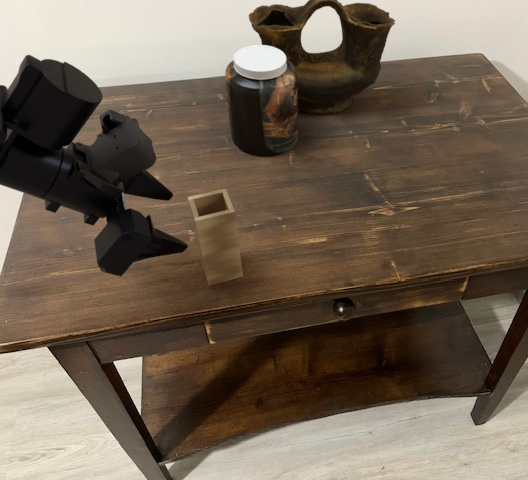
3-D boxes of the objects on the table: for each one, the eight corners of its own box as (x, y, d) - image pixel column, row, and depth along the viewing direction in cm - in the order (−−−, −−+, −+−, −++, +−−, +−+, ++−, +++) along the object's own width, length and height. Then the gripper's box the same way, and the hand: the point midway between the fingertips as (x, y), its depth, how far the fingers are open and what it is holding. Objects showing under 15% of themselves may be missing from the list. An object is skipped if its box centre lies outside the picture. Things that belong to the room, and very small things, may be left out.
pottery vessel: (257, 121, 97) (249, 14, 82) (253, 89, 104) (245, -15, 90) (390, 113, 100) (405, 8, 85) (377, 82, 107) (390, -20, 92)
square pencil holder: (208, 286, 71) (195, 221, 62) (201, 262, 74) (187, 196, 65) (243, 276, 73) (235, 211, 63) (235, 253, 75) (225, 188, 66)
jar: (226, 155, 90) (215, 75, 79) (236, 115, 98) (228, 37, 87) (295, 158, 90) (294, 79, 79) (300, 118, 98) (300, 41, 87)
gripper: (101, 172, 45) (240, 230, 56) (83, 64, 56) (201, 129, 67) (35, 257, 48) (178, 296, 59) (31, 139, 60) (151, 190, 71)
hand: (178, 221), depth 64 cm, fingers open, 9 cm apart
